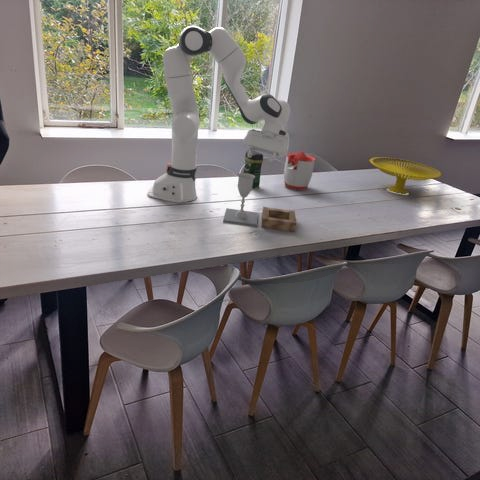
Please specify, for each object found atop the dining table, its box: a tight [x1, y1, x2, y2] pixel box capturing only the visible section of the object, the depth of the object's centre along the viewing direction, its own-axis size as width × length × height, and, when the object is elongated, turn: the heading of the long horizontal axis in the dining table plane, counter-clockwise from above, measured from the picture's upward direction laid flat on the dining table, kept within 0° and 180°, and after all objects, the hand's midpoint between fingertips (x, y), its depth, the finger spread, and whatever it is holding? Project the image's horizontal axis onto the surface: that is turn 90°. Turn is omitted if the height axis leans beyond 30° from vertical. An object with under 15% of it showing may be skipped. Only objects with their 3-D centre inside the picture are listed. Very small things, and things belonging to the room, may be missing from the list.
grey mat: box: [222, 207, 259, 228], centre depth 184 cm, size 14×14×1 cm
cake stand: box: [369, 156, 442, 194], centre depth 248 cm, size 40×40×15 cm
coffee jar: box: [242, 150, 264, 189], centre depth 223 cm, size 10×8×19 cm
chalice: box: [235, 172, 255, 218], centre depth 180 cm, size 7×7×18 cm
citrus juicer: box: [283, 150, 316, 191], centre depth 230 cm, size 16×17×20 cm
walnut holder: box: [260, 206, 297, 233], centre depth 183 cm, size 14×14×4 cm
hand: (259, 159), depth 184 cm, fingers open, 8 cm apart
